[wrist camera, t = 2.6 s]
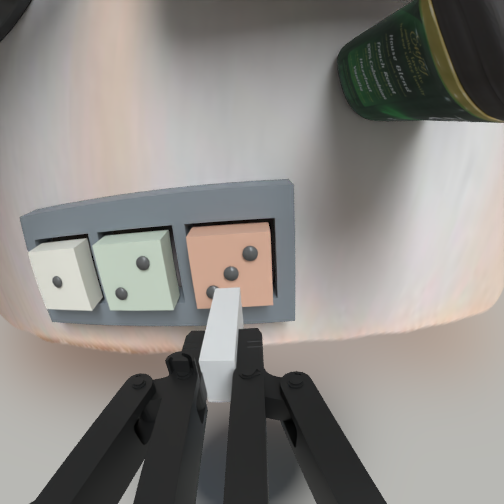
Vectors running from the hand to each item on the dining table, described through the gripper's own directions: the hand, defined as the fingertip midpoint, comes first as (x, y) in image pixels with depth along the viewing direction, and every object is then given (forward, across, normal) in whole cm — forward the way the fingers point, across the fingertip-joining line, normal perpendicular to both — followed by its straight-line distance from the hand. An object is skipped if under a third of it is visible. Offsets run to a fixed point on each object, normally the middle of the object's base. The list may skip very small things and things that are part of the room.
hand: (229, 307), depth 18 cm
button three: (+7, 0, 0) cm, 7 cm away
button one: (+7, -16, 0) cm, 18 cm away
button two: (+7, -8, 0) cm, 11 cm away
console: (+9, -8, 0) cm, 12 cm away
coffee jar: (+9, +14, +16) cm, 23 cm away
